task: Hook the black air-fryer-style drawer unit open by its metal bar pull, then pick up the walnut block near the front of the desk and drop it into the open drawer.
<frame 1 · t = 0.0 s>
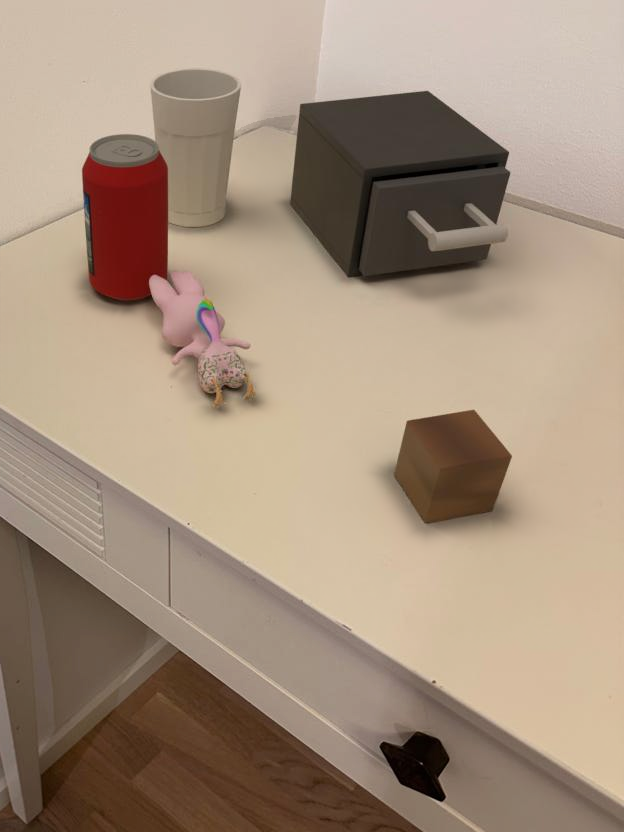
rabbit figure: (196, 354, 69), on the table
cup: (192, 213, 86), on the table
block: (442, 492, 57), on the table
cabinet: (380, 229, 83), on the table
beverage can: (128, 287, 76), on the table
drawer: (414, 204, 76), point 5 cm above the table, slide at 0.5 cm
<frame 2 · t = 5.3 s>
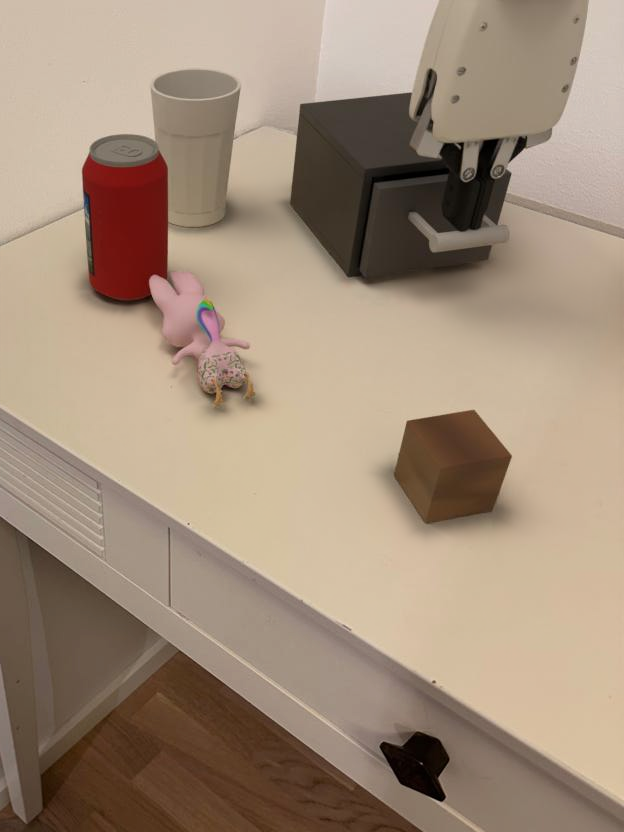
hand: (460, 222, 69), 7 cm above the table, tool pointing down, fingers closed
drawer: (415, 205, 76), point 5 cm above the table, slide at 0.7 cm, touching gripper
everything else where it was.
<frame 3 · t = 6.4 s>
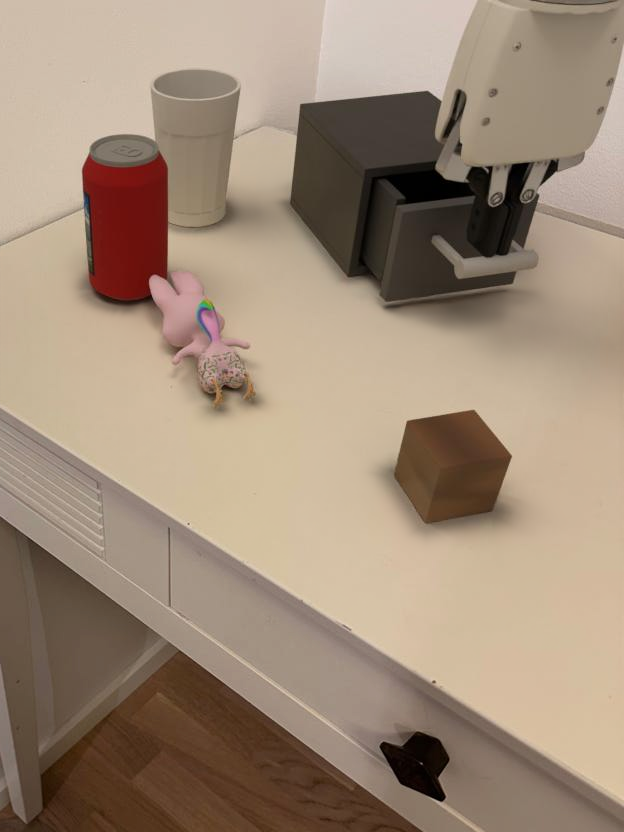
hand: (486, 247, 66), 7 cm above the table, tool pointing down, fingers closed
drawer: (437, 227, 73), point 5 cm above the table, slide at 4.8 cm, touching gripper
everything else where it was.
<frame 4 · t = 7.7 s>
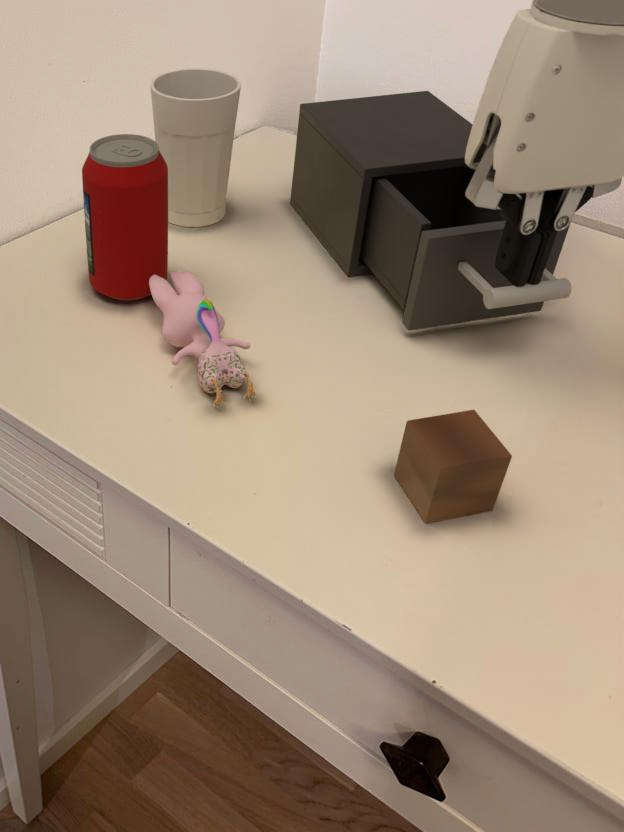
hand: (516, 275, 63), 7 cm above the table, tool pointing down, fingers closed
drawer: (462, 251, 70), point 5 cm above the table, slide at 9.1 cm, touching gripper
everything else where it was.
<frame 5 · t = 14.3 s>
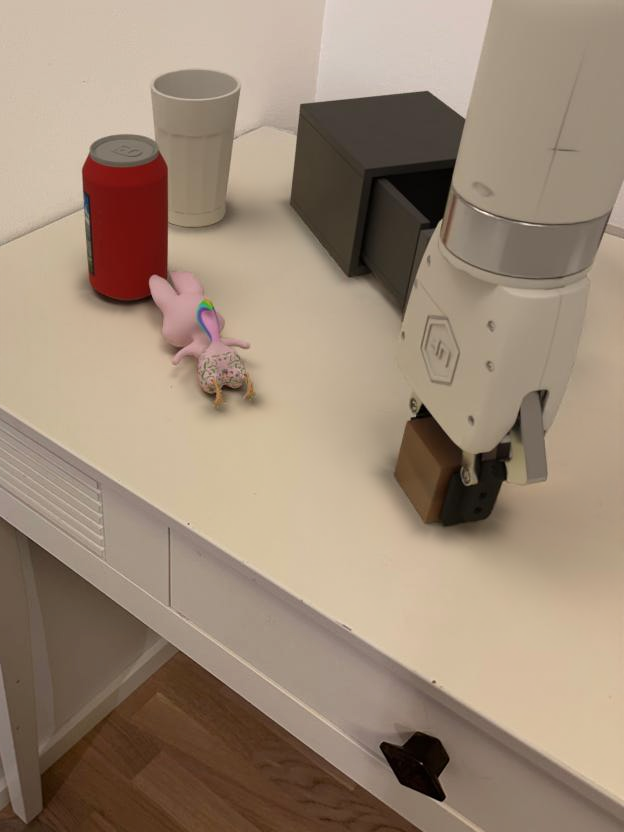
hand: (443, 488, 56), 0 cm above the table, tool pointing down, fingers closed on block, 4 cm apart
block: (442, 492, 57), on the table, touching gripper
drawer: (461, 250, 70), point 5 cm above the table, slide at 8.9 cm
everything else where it was.
when the fingers open (6 cm above the table, at t = 28.6 s): block drops 4 cm, point 2 cm above the table.
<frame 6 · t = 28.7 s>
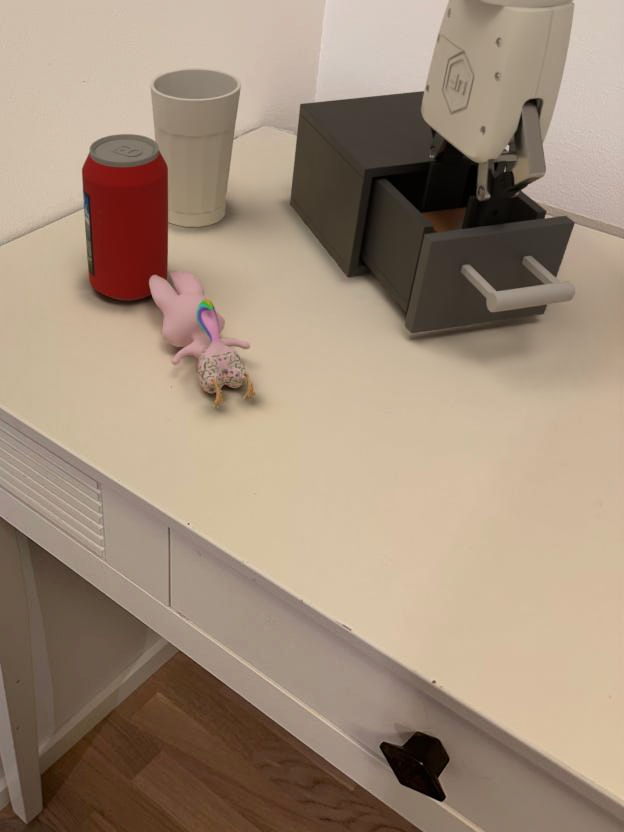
hand: (459, 224, 70), 6 cm above the table, tool pointing down, fingers open, 5 cm apart
block: (446, 274, 73), point 2 cm above the table
drawer: (465, 254, 69), point 5 cm above the table, slide at 9.5 cm, touching gripper
everything else where it was.
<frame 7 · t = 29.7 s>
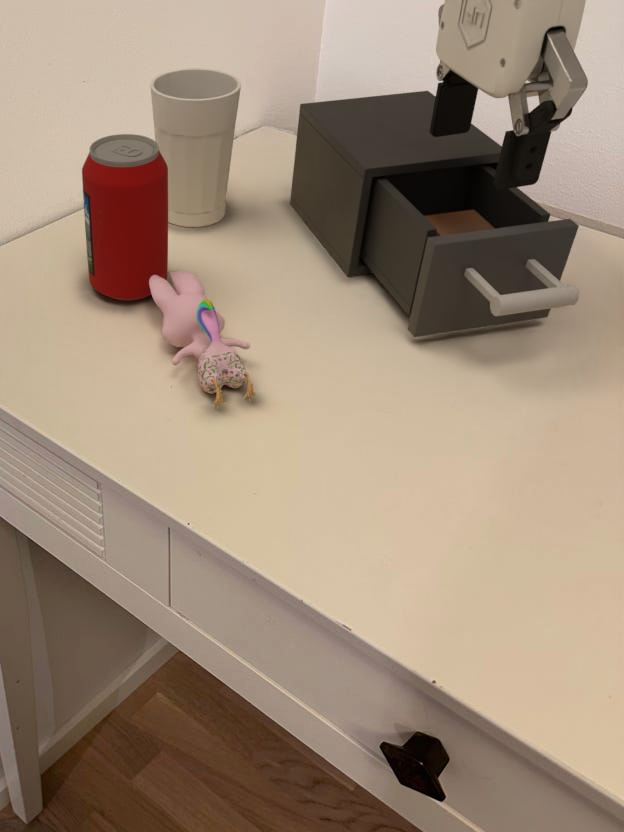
hand: (480, 158, 66), 12 cm above the table, tool pointing down, fingers open, 9 cm apart
block: (448, 277, 72), point 2 cm above the table, touching drawer
drawer: (468, 257, 69), point 5 cm above the table, slide at 10.0 cm, touching block
everything else where it was.
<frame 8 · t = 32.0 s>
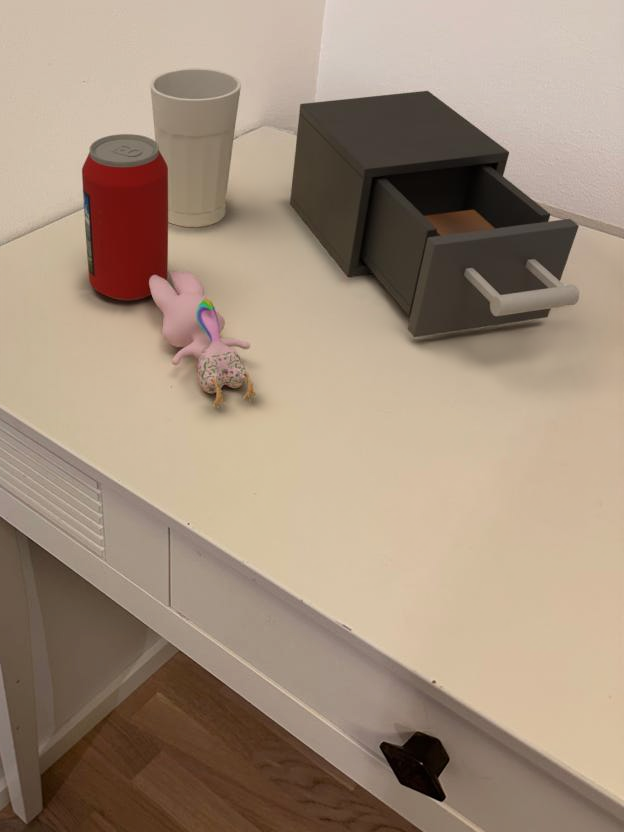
nothing on the table moved.
at the end: drawer slide at 10.0 cm; block inside the target area in the drawer (0.7 cm from its centre), point 2.0 cm above the cabinet's base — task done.
